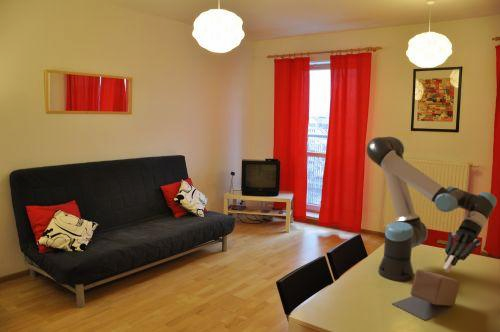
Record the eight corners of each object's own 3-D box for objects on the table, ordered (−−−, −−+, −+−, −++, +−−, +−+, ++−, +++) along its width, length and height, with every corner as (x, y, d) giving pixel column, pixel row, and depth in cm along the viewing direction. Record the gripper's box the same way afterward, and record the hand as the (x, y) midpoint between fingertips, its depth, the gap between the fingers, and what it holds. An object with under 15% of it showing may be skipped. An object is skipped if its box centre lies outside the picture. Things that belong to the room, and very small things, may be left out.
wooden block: (435, 272, 163) (415, 268, 149) (461, 281, 155) (443, 277, 142) (428, 297, 162) (408, 294, 148) (454, 306, 155) (436, 305, 141)
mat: (420, 294, 164) (420, 293, 164) (453, 308, 153) (453, 307, 153) (391, 304, 155) (391, 303, 155) (424, 320, 143) (424, 319, 143)
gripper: (454, 215, 170) (427, 259, 163) (486, 223, 159) (458, 271, 152) (459, 225, 174) (433, 270, 167) (491, 234, 163) (464, 281, 156)
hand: (445, 270), depth 159 cm, fingers closed
